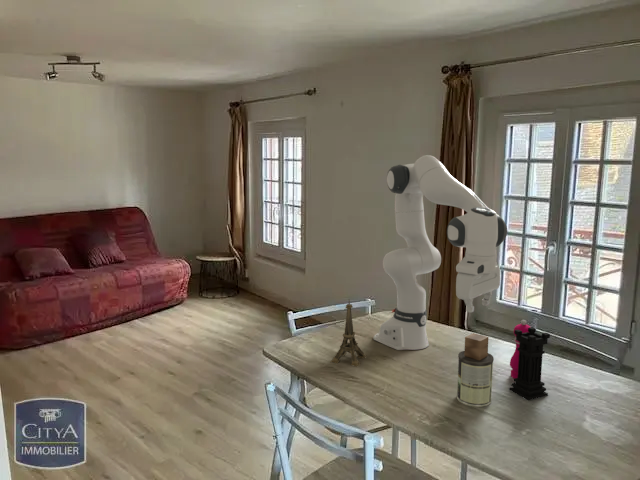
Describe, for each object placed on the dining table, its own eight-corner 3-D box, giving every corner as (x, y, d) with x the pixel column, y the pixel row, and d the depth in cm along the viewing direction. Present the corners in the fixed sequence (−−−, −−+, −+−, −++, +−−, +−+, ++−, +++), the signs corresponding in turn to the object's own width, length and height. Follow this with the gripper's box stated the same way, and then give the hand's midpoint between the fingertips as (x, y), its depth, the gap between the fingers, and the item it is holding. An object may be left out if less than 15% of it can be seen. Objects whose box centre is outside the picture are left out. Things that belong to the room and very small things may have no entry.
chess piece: (509, 389, 167) (512, 329, 163) (528, 385, 170) (531, 326, 166) (528, 400, 159) (532, 338, 156) (547, 395, 162) (551, 334, 159)
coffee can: (450, 394, 164) (451, 351, 161) (478, 390, 167) (480, 348, 164) (469, 409, 154) (471, 364, 152) (498, 404, 157) (501, 359, 155)
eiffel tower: (358, 366, 186) (358, 298, 182) (330, 362, 190) (330, 296, 186) (366, 356, 195) (367, 291, 191) (340, 352, 199) (340, 289, 195)
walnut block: (464, 355, 158) (465, 337, 157) (472, 351, 162) (473, 333, 161) (479, 360, 155) (480, 341, 154) (487, 355, 158) (488, 336, 157)
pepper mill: (533, 382, 172) (537, 324, 169) (510, 380, 174) (514, 322, 170) (529, 373, 179) (533, 317, 176) (507, 371, 181) (510, 316, 177)
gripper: (487, 256, 163) (485, 299, 165) (452, 266, 149) (450, 313, 151) (506, 259, 158) (504, 303, 161) (472, 270, 144) (470, 318, 146)
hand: (477, 308), depth 156 cm, fingers open, 8 cm apart
